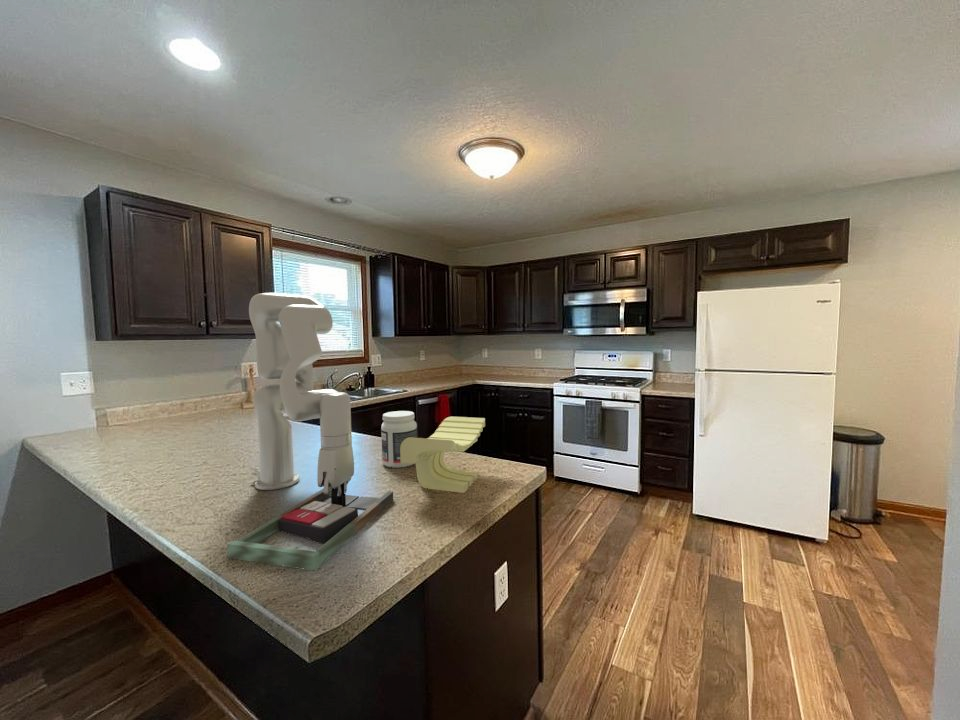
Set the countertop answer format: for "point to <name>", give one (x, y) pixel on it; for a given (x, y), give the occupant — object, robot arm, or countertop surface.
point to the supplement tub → (396, 436)
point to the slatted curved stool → (430, 452)
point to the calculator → (317, 521)
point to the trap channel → (300, 558)
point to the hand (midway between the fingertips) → (338, 509)
